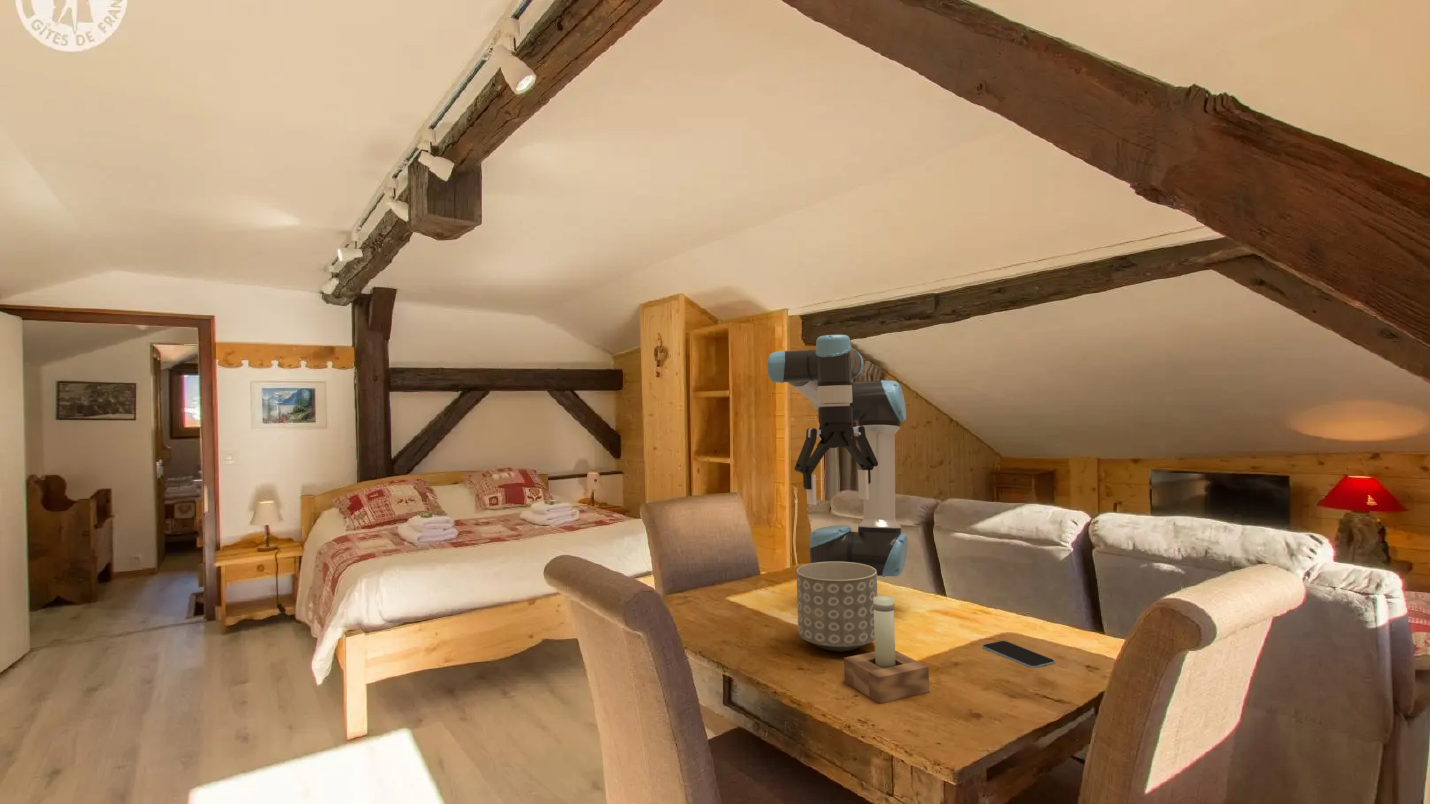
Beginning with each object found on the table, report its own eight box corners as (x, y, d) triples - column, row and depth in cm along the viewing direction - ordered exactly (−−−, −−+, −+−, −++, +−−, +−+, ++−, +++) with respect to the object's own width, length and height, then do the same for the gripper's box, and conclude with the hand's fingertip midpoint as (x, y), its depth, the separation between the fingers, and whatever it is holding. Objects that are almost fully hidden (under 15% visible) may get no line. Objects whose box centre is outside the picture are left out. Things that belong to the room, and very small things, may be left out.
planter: (830, 666, 154) (828, 584, 154) (783, 641, 170) (781, 567, 171) (896, 650, 162) (893, 572, 162) (845, 628, 179) (843, 558, 179)
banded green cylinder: (888, 681, 144) (885, 594, 144) (900, 688, 140) (897, 599, 140) (871, 685, 142) (869, 597, 143) (884, 692, 139) (881, 602, 139)
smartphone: (1032, 666, 149) (980, 645, 162) (1032, 671, 149) (980, 649, 162) (1057, 660, 152) (1003, 639, 165) (1057, 665, 152) (1004, 643, 165)
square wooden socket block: (891, 671, 149) (890, 648, 149) (929, 691, 138) (928, 666, 138) (844, 681, 145) (843, 657, 145) (879, 703, 134) (878, 677, 134)
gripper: (871, 403, 161) (874, 495, 161) (777, 407, 151) (780, 504, 151) (891, 403, 154) (895, 498, 154) (794, 406, 144) (797, 508, 144)
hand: (838, 501), depth 153 cm, fingers open, 13 cm apart
